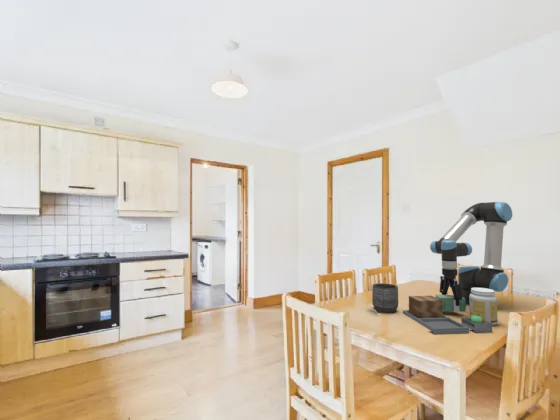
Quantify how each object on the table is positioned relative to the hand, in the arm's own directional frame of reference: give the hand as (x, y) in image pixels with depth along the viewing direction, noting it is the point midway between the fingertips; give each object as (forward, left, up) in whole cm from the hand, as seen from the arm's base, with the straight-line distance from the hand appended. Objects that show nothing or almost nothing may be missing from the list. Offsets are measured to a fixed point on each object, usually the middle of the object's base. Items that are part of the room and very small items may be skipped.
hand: (450, 308), depth 169 cm
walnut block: (+18, +4, -3) cm, 18 cm away
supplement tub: (-9, +12, -4) cm, 16 cm away
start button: (+2, +21, -2) cm, 21 cm away
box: (0, 0, -1) cm, 1 cm away
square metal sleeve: (+2, +21, -4) cm, 22 cm away
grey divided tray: (+18, +11, -4) cm, 21 cm away
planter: (+34, -10, -4) cm, 35 cm away
